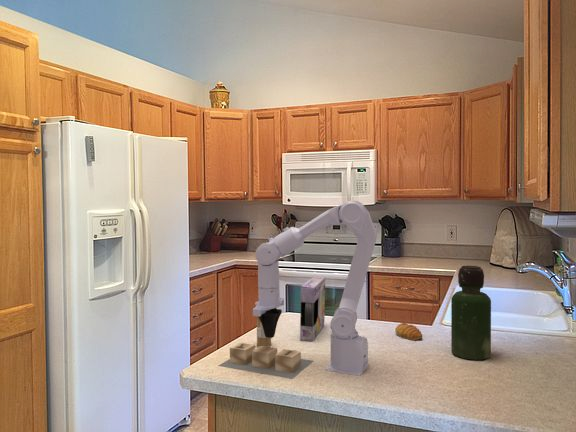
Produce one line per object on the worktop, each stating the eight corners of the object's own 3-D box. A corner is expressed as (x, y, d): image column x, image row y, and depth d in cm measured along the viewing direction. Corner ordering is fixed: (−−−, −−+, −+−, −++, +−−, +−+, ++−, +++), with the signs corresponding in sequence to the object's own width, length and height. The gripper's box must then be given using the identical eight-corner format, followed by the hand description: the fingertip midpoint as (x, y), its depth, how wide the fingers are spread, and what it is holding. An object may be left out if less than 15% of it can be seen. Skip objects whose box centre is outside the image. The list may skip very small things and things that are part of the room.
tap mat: (314, 362, 127) (314, 360, 127) (292, 380, 114) (292, 378, 114) (245, 351, 136) (245, 350, 136) (217, 367, 124) (217, 365, 124)
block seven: (255, 359, 129) (254, 344, 128) (245, 364, 124) (245, 349, 124) (239, 356, 131) (239, 342, 131) (229, 362, 126) (229, 347, 126)
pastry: (428, 340, 146) (428, 328, 146) (410, 342, 144) (410, 330, 144) (409, 332, 155) (409, 321, 155) (392, 334, 152) (392, 323, 152)
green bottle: (496, 354, 132) (496, 266, 131) (482, 363, 124) (482, 270, 123) (460, 346, 139) (460, 263, 138) (445, 355, 131) (445, 267, 130)
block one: (301, 366, 122) (300, 351, 122) (292, 373, 118) (292, 357, 118) (284, 363, 125) (283, 348, 124) (275, 370, 120) (275, 354, 120)
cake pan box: (313, 342, 144) (313, 286, 143) (298, 341, 145) (297, 285, 145) (326, 326, 162) (325, 276, 162) (312, 325, 164) (311, 275, 163)
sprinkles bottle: (256, 345, 142) (255, 301, 142) (271, 344, 143) (270, 300, 143) (257, 349, 138) (256, 304, 138) (272, 348, 138) (271, 304, 138)
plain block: (277, 362, 125) (277, 348, 125) (268, 368, 121) (268, 353, 121) (261, 360, 128) (261, 345, 128) (252, 366, 123) (251, 351, 123)
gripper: (268, 281, 133) (269, 328, 134) (242, 290, 120) (243, 342, 121) (290, 283, 130) (291, 331, 131) (266, 292, 117) (267, 345, 118)
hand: (269, 336), depth 126 cm, fingers closed
